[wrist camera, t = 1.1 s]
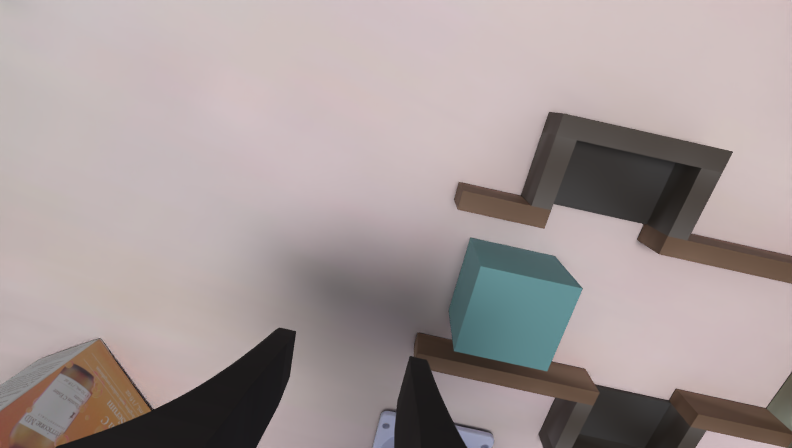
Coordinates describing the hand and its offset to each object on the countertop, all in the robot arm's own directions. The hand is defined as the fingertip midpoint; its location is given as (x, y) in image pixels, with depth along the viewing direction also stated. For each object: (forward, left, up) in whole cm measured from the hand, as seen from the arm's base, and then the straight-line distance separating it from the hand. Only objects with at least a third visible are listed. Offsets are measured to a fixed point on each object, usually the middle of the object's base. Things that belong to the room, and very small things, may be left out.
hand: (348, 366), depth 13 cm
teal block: (0, -8, -10) cm, 12 cm away
